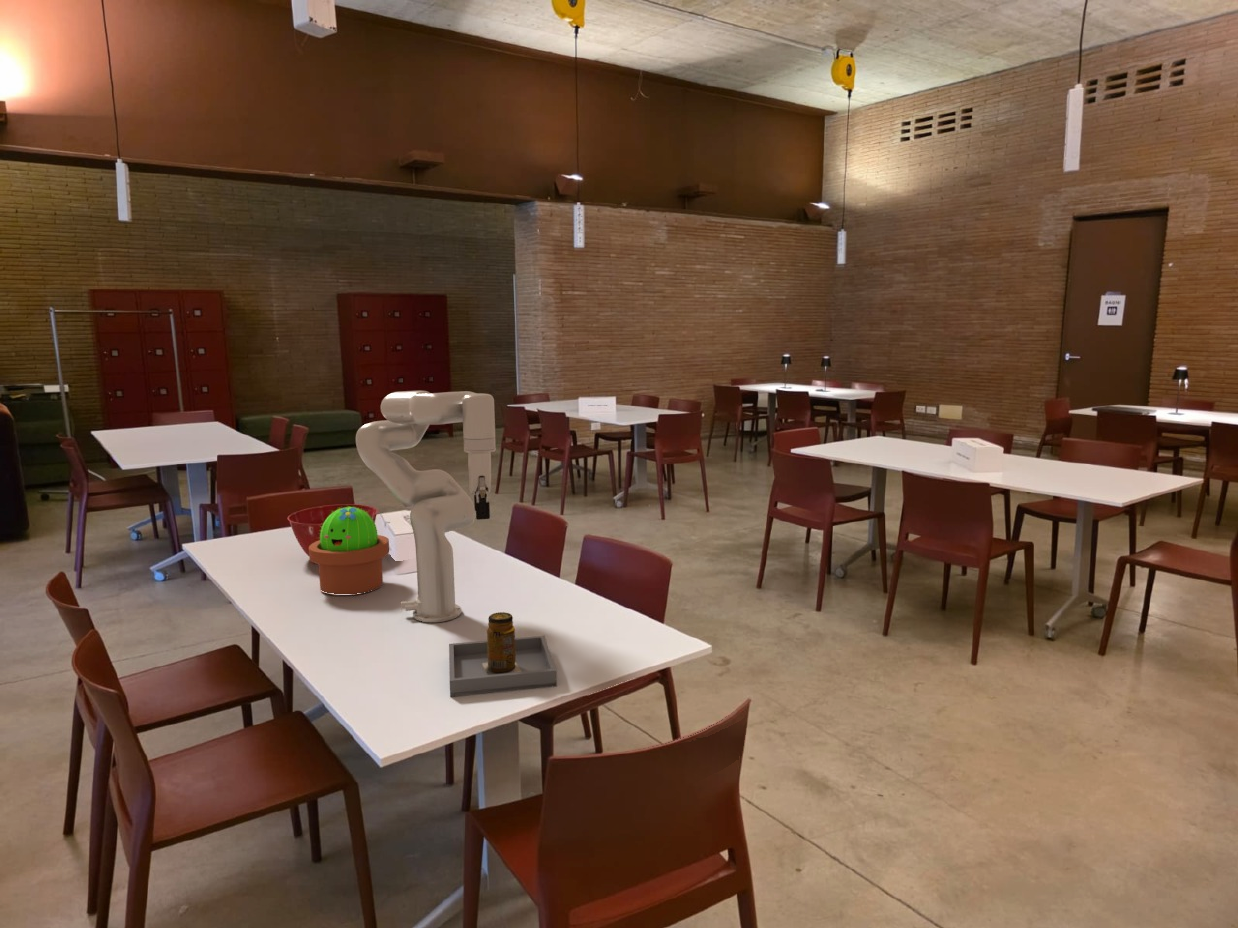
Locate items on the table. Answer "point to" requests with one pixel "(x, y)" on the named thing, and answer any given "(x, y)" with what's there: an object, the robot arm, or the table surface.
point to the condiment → (501, 645)
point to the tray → (474, 679)
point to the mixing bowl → (318, 522)
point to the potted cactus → (349, 552)
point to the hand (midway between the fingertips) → (482, 514)
